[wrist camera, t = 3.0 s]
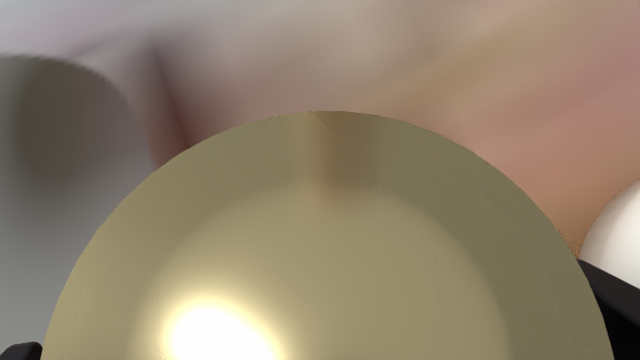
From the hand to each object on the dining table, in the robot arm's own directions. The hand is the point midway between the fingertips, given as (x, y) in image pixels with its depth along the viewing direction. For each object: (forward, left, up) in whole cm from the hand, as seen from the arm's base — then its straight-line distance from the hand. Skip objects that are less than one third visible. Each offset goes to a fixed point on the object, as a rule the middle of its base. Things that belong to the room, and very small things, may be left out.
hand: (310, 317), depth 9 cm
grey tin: (-1, 0, -7) cm, 7 cm away
